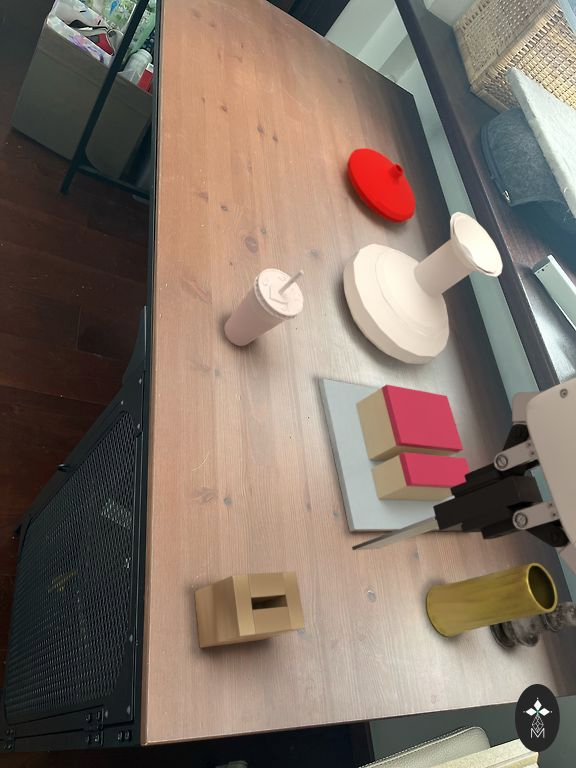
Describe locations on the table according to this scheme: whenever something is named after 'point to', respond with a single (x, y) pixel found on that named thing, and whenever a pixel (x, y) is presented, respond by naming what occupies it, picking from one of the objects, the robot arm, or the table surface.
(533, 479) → the knife
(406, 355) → the candle holder
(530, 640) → the salt shaker
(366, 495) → the cake plate
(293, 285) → the smoothie
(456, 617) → the vase
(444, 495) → the cake slice
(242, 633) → the knife block
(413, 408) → the cake
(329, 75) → the table surface
